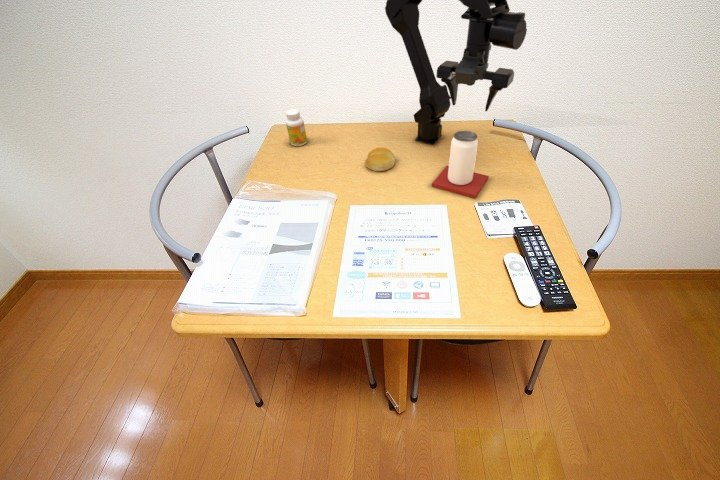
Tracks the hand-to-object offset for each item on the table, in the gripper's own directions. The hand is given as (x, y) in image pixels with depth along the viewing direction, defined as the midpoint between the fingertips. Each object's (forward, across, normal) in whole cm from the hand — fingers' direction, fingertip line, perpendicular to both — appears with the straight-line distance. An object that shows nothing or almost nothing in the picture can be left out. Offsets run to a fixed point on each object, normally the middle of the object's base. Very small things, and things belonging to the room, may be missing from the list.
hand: (469, 107), depth 98 cm
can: (+12, +5, -16) cm, 21 cm away
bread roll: (+13, -19, -17) cm, 29 cm away
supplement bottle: (+13, -49, -17) cm, 54 cm away
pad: (+13, +5, -16) cm, 21 cm away
